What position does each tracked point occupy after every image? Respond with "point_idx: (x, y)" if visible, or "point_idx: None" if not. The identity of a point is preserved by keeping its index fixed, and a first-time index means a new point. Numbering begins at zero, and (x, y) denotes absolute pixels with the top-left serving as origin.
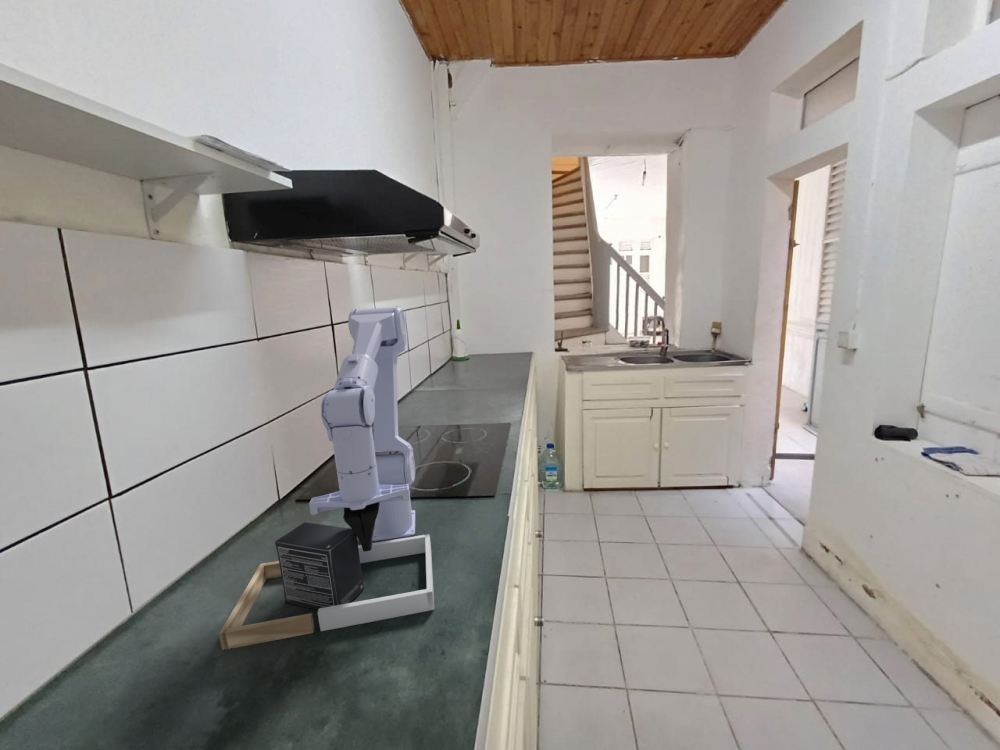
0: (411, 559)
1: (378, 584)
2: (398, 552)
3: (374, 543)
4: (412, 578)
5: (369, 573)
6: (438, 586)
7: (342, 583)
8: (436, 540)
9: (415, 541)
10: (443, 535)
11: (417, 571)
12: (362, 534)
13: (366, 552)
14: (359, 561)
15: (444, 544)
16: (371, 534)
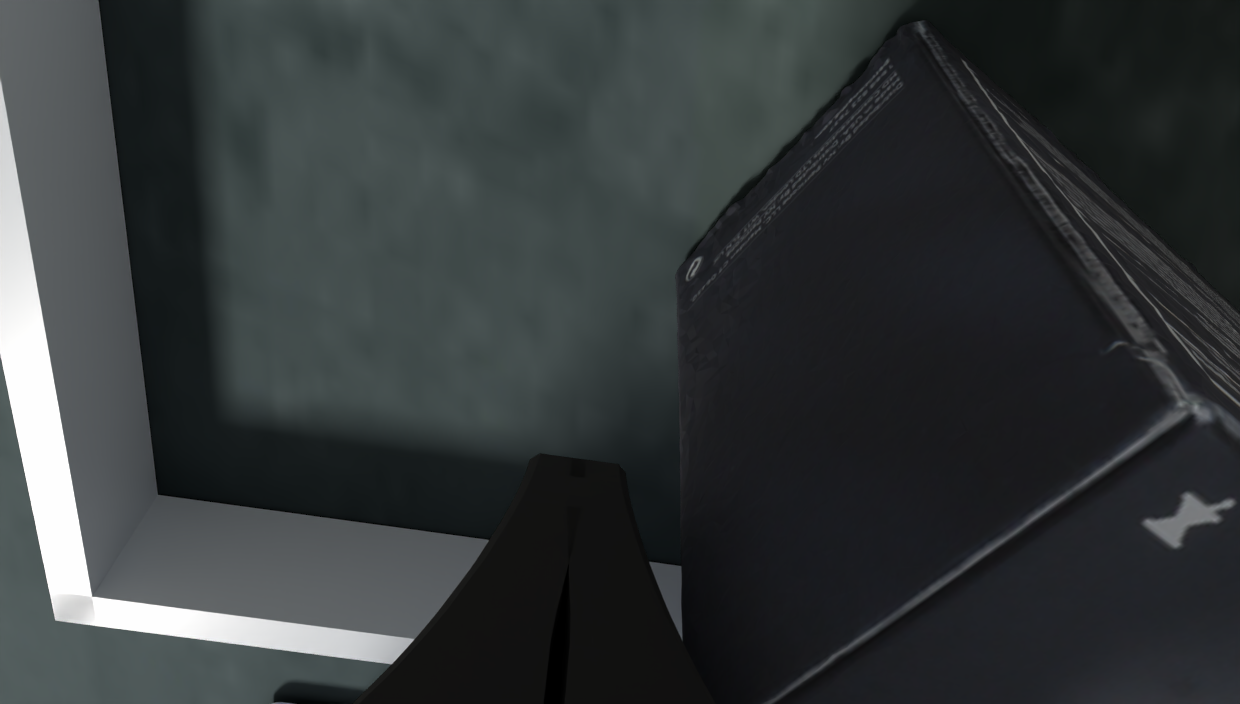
0: (282, 462)
1: (554, 277)
2: (375, 553)
3: None
4: (261, 234)
5: (622, 434)
6: None
7: (893, 182)
8: None
9: (195, 587)
10: (38, 624)
11: (222, 303)
12: (587, 630)
13: None
14: (686, 424)
15: (17, 527)
16: (452, 596)
